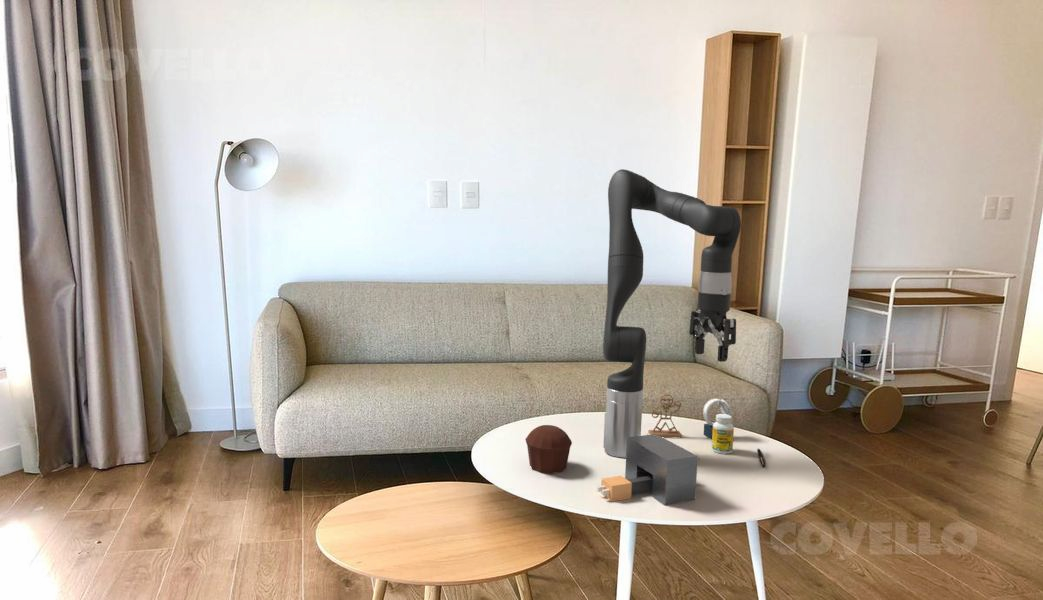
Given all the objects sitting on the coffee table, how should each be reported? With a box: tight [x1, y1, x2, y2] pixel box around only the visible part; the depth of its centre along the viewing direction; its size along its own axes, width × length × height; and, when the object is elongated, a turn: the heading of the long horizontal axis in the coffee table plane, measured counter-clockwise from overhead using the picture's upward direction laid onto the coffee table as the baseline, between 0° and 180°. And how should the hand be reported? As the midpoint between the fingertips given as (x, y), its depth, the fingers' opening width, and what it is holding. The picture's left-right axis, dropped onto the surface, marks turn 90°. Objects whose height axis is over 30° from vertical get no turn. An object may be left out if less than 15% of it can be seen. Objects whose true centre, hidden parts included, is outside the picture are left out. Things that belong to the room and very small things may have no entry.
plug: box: [596, 475, 653, 502], centre depth 155 cm, size 4×25×4 cm, turn 114°
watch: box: [702, 398, 733, 440], centre depth 194 cm, size 6×8×11 cm
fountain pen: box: [756, 448, 766, 468], centre depth 178 cm, size 14×1×2 cm, turn 167°
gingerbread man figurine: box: [647, 393, 683, 439], centre depth 194 cm, size 9×4×12 cm, turn 90°
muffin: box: [525, 424, 573, 475], centre depth 168 cm, size 12×11×10 cm
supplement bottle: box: [711, 413, 735, 455], centre depth 183 cm, size 5×5×10 cm
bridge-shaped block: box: [624, 434, 699, 506], centre depth 156 cm, size 16×8×10 cm, turn 23°
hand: (710, 357), depth 166 cm, fingers open, 8 cm apart
